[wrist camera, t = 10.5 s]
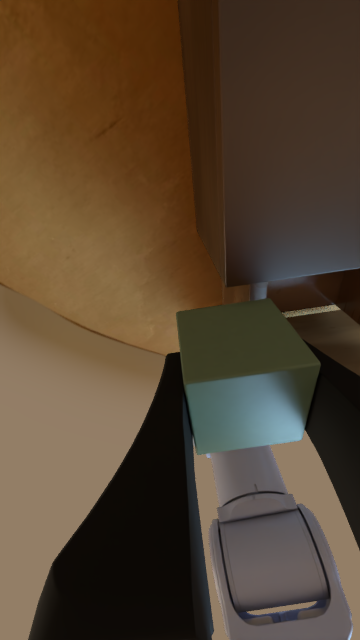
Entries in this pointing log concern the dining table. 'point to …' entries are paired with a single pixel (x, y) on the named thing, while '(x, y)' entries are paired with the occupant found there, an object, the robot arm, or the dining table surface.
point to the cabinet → (274, 134)
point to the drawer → (320, 328)
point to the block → (244, 376)
